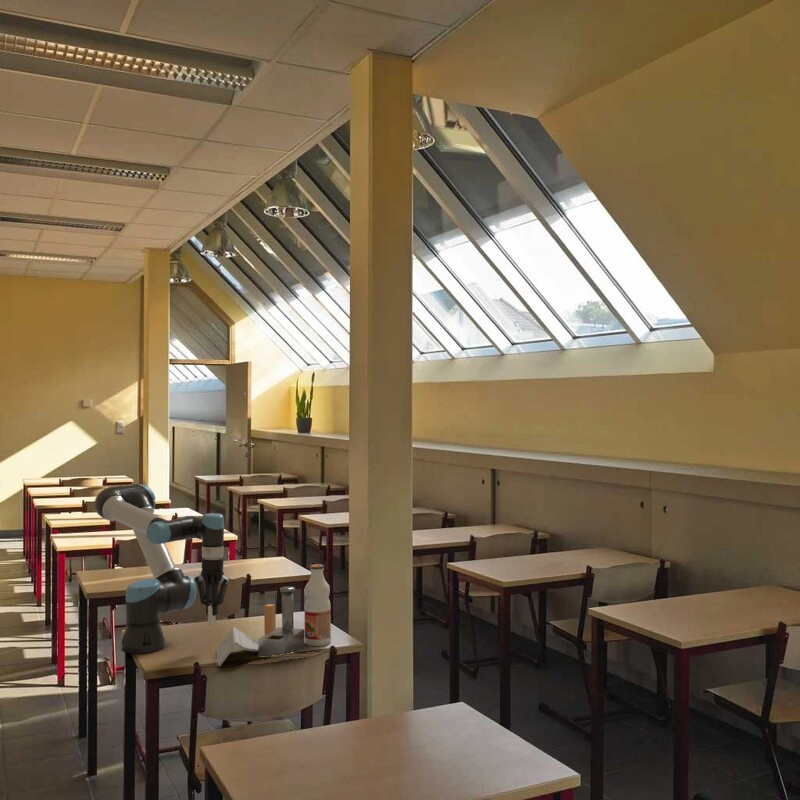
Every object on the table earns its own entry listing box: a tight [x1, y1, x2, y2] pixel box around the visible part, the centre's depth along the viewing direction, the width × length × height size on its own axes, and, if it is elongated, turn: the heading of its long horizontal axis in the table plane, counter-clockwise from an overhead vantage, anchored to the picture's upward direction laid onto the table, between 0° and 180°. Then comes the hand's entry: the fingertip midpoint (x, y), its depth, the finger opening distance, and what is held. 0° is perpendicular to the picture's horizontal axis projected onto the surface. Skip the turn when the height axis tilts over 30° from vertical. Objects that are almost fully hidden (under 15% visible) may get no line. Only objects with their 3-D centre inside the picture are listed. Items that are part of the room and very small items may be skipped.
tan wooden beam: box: [263, 603, 277, 636], centre depth 301 cm, size 3×3×13 cm
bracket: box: [216, 626, 258, 667], centre depth 282 cm, size 13×10×20 cm
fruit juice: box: [303, 563, 332, 647], centre depth 298 cm, size 9×9×28 cm
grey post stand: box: [257, 586, 306, 656], centre depth 288 cm, size 10×16×21 cm, turn 162°
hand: (211, 624), depth 292 cm, fingers closed
